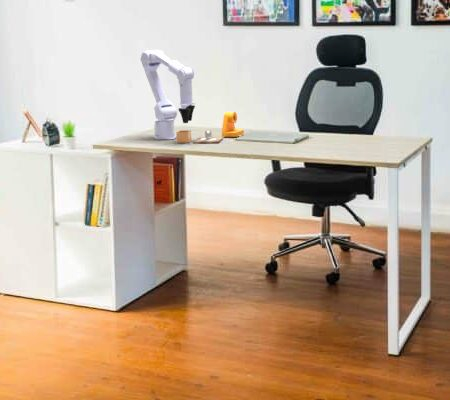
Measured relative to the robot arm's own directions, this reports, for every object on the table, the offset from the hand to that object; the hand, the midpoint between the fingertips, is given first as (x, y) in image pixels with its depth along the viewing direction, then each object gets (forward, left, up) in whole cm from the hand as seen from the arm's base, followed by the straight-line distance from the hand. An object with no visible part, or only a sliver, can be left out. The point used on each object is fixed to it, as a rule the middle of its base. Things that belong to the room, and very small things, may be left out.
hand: (187, 121), depth 451 cm
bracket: (+19, +15, -10) cm, 26 cm away
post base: (+10, -1, -9) cm, 14 cm away
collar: (-2, -1, -9) cm, 10 cm away
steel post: (+10, -1, -9) cm, 14 cm away
